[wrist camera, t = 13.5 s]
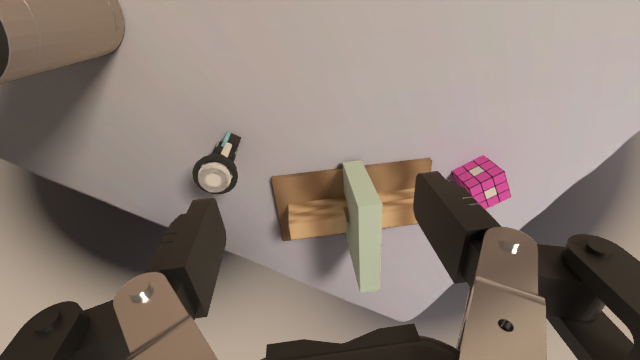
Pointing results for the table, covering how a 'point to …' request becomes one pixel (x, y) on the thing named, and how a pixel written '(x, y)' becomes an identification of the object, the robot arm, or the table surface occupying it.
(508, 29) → the table surface
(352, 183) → the sage slotted plate
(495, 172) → the puzzle toy
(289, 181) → the oak slotted rail
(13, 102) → the table surface
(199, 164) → the push button
